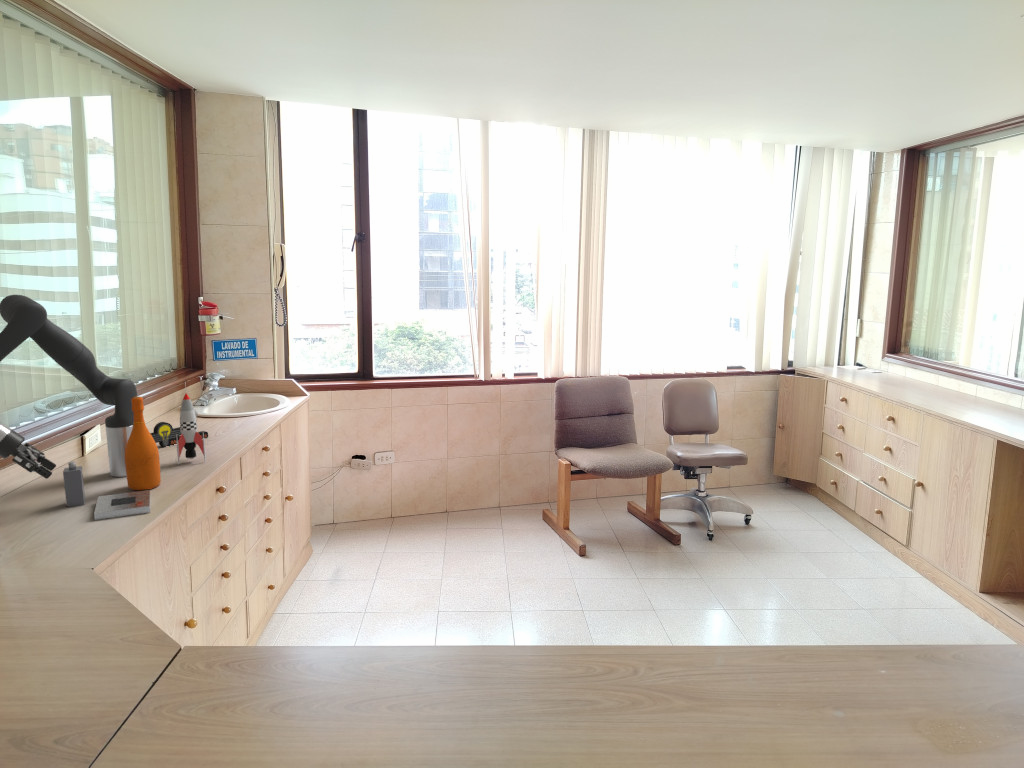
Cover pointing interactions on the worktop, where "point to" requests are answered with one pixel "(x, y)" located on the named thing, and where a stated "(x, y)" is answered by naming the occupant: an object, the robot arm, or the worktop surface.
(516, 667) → the worktop surface
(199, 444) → the toy
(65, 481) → the plug
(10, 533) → the worktop surface
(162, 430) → the decorative sign
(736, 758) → the worktop surface
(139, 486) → the wine bottle
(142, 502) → the socket
